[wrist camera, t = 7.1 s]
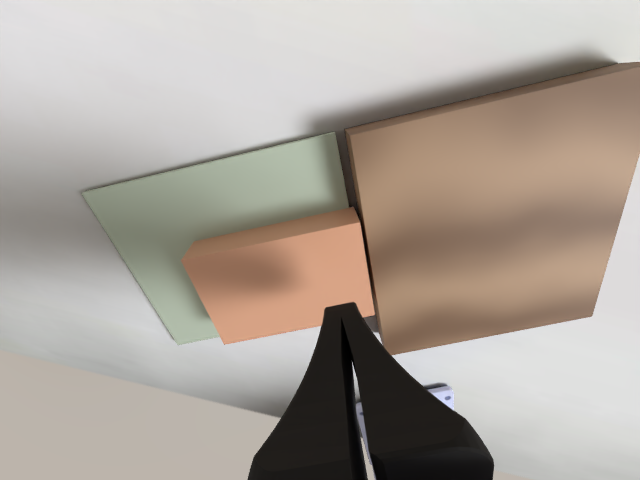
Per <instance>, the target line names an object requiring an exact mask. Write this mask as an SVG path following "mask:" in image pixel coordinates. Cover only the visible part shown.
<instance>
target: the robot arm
mask: <svg viewBox="0 0 640 480" xmlns="http://www.w3.org/2000/svg"><path fill="white" fill-rule="evenodd" d="M352 362H353V366H354V369H355V373H356V376H357V381H358V387H359V393H360V399H361V402H359V403H357V404H356V402H355V390H354V379H353V367H352ZM357 418H358V420H357ZM358 422H359V425H360V429H361V433H362V436H363V440H364V444H365V447H366V451H367V455H368V459H369V462H370V464H371V465H372V467H373V472H374V478H375V480H493V471H494V462H493V458H492V456H491V454H490V452H489V451H488V449H487V447H486V446H485V444H484V443H483V441H482V440H481V438H480V437H479V435H478V434H477V433H476V431H475V430H474V429H473V427H472V426H471V425H470V424H469V422H468V421H467V420H466V419H465V418H464V417H462V416H461V415H459V414H458V413H457V412H455V411H454V392H453V390H452V388H451V387H449V386H444V387H439V388H434V389H428V390H427V389H426V388H424V387H423V386H422V385H421V384H420V383H419V382H418V381H416V380H415V379H414V378H413V377H412V376H411V375H410V374H409V373H408V372H407V371H406V370H405V369H404V368H403V367H402V366H401V365H400V364H399V363H398V362H397V361H396V360H395V359H394V358H393V357H392V356H391V355H390V354H389V352H388V351H387V350H386V349H385V348H384V347H383V345H382V344H381V343H380V342H379V340H378V339H377V338H376V336H375V335H374V334H373V332H372V331H371V329H370V328H369V327H368V325H367V324H366V322H365V320H364V319H363V317H362V315H361V313H360V312H359V309H358V307H357V304H356V303H355V302H349V303H345V304H340V305H335V306H330V307H326V308H325V309H324V316H323V322H322V326H321V330H320V334H319V337H318V341H317V344H316V347H315V350H314V353H313V356H312V358H311V361H310V364H309V366H308V369H307V371H306V373H305V376H304V378H303V380H302V382H301V384H300V386H299V388H298V390H297V392H296V394H295V396H294V398H293V399H292V401H291V403H290V405H289V406H288V408H287V410H286V411H285V413H284V415H283V416H282V418H281V419H280V421H279V423H278V424H277V426H276V427H275V429H274V430H273V432H272V433H271V434H270V436H269V437H268V439H267V440H266V441H265V443H264V444H263V445H262V447H261V448H260V449H259V451H258V452H257V453H256V455H255V456H254V458H253V461H252V465H251V468H250V472H249V476H248V480H368V478H367V473H366V467H365V461H364V455H363V450H362V444H361V438H360V432H359V427H358Z"/></svg>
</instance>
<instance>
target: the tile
mask: <svg viewBox="0 0 640 480" xmlns="http://www.w3.org/2000/svg"><path fill="white" fill-rule="evenodd" d="M181 262H182V264H183V266H184V268H185V270H186V272H187V274H188V275H189V277H190V279H191V281H192V283H193V285H194V287H195V289H196V291H197V293H198V295H199V297H200V299H201V301H202V303H203V304H204V306H205V308H206V310H207V312H208V314H209V316H210V318H211V320H212V322H213V324H214V326H215V328H216V330H217V332H218V333H219V335H220V337H221V339H222V341H223V343H224V345H225V344H230V343H235V342H240V341H245V340H251V339H256V338H261V337H266V336H271V335H276V334H281V333H286V332H291V331H296V330H302V329H307V328H312V327H317V326H322V322H323V316H324V309H325V308H326V307H330V306H335V305H340V304H345V303H349V302H355V303H356V304H357V307H358V309H359V312H360V313H361V315H362V317H368V316H373V315H375V312H374V306H373V299H372V293H371V287H370V281H369V275H368V268H367V262H366V256H365V250H364V244H363V237H362V231H361V225H360V221H359V218H358V216H357V214H356V211H355V209H354V207H350V208H346V209H341V210H336V211H332V212H327V213H323V214H318V215H313V216H309V217H304V218H299V219H295V220H290V221H286V222H281V223H276V224H272V225H267V226H262V227H258V228H253V229H248V230H244V231H239V232H235V233H230V234H225V235H221V236H216V237H211V238H207V239H202V240H198V241H194V242H193V243H192V245H191V246H190V248H189V249H188V251H187V252H186V253H185V255H184V256H183V258H182V259H181Z"/></svg>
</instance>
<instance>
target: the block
mask: <svg viewBox="0 0 640 480" xmlns="http://www.w3.org/2000/svg"><path fill="white" fill-rule="evenodd" d="M344 130H345V135H346V141H347V147H348V153H349V159H350V165H351V171H352V177H353V182H354V188H355V194H356V200H357V206H358V212H359V218H360V224H361V229H362V235H363V241H364V247H365V253H366V259H367V265H368V271H369V276H370V282H371V288H372V294H373V300H374V306H375V312H376V318H377V323H378V329H379V334H380V338H381V341H382V344H383V347H384V348H385V349H386V350H387V351H388V352H389V354H390V355H395V354H400V353H406V352H411V351H416V350H421V349H426V348H431V347H437V346H442V345H447V344H452V343H457V342H462V341H468V340H473V339H478V338H483V337H488V336H493V335H499V334H504V333H509V332H514V331H519V330H524V329H529V328H535V327H540V326H545V325H550V324H555V323H560V322H566V321H571V320H576V319H581V318H586V317H591V316H592V315H593V311H594V308H595V304H596V301H597V298H598V294H599V291H600V287H601V284H602V281H603V277H604V274H605V270H606V267H607V263H608V260H609V257H610V253H611V250H612V246H613V243H614V240H615V236H616V233H617V229H618V226H619V223H620V219H621V216H622V212H623V209H624V205H625V202H626V199H627V195H628V192H629V188H630V185H631V182H632V178H633V175H634V171H635V168H636V164H637V161H638V158H639V154H640V62H631V63H619V64H615V65H610V66H606V67H602V68H598V69H594V70H589V71H585V72H581V73H577V74H573V75H569V76H564V77H560V78H556V79H552V80H548V81H544V82H539V83H535V84H531V85H527V86H523V87H518V88H514V89H510V90H506V91H502V92H498V93H493V94H489V95H485V96H481V97H477V98H472V99H468V100H464V101H460V102H456V103H452V104H447V105H443V106H439V107H435V108H431V109H427V110H422V111H418V112H414V113H410V114H406V115H401V116H397V117H393V118H389V119H385V120H381V121H376V122H372V123H368V124H364V125H360V126H355V127H351V128H347V129H344Z"/></svg>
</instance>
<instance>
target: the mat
mask: <svg viewBox="0 0 640 480" xmlns="http://www.w3.org/2000/svg"><path fill="white" fill-rule="evenodd" d="M81 194H82V196H83V197H84V199H85V200H86V202H87V203H88V205H89V207H90V208H91V210H92V211H93V213H94V214H95V216H96V218H97V219H98V221H99V222H100V224H101V225H102V227H103V229H104V230H105V232H106V233H107V235H108V236H109V238H110V240H111V241H112V243H113V244H114V246H115V247H116V249H117V251H118V252H119V254H120V255H121V257H122V258H123V260H124V262H125V263H126V265H127V266H128V268H129V269H130V271H131V273H132V274H133V276H134V277H135V279H136V280H137V282H138V284H139V285H140V287H141V288H142V290H143V291H144V293H145V295H146V296H147V298H148V299H149V301H150V302H151V304H152V306H153V307H154V309H155V310H156V312H157V313H158V315H159V317H160V318H161V320H162V321H163V323H164V324H165V326H166V328H167V329H168V331H169V332H170V334H171V335H172V337H173V339H174V340H175V342H176V343H177V345H182V344H186V343H191V342H196V341H201V340H206V339H211V338H216V337H220V335H219V333H218V332H217V330H216V328H215V326H214V324H213V322H212V320H211V318H210V316H209V314H208V312H207V310H206V308H205V306H204V304H203V303H202V301H201V299H200V297H199V295H198V293H197V291H196V289H195V287H194V285H193V283H192V281H191V279H190V277H189V275H188V274H187V272H186V270H185V268H184V266H183V264H182V262H181V259H182V258H183V256H184V255H185V253H186V252H187V251H188V249H189V248H190V246H191V245H192V243H193V242H194V241H198V240H202V239H207V238H211V237H216V236H221V235H225V234H230V233H235V232H239V231H244V230H248V229H253V228H258V227H262V226H267V225H272V224H276V223H281V222H286V221H290V220H295V219H299V218H304V217H309V216H313V215H318V214H323V213H327V212H332V211H336V210H341V209H346V208H349V205H348V199H347V194H346V188H345V183H344V178H343V172H342V167H341V161H340V156H339V151H338V145H337V140H336V135H335V132H330V133H326V134H322V135H318V136H314V137H310V138H305V139H301V140H297V141H293V142H289V143H284V144H280V145H276V146H272V147H268V148H264V149H259V150H255V151H251V152H247V153H243V154H238V155H234V156H230V157H226V158H222V159H218V160H213V161H209V162H205V163H201V164H197V165H192V166H188V167H184V168H180V169H176V170H172V171H167V172H163V173H159V174H155V175H151V176H147V177H142V178H138V179H134V180H130V181H126V182H121V183H117V184H113V185H109V186H105V187H101V188H96V189H92V190H88V191H85V192H83V193H81Z"/></svg>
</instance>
